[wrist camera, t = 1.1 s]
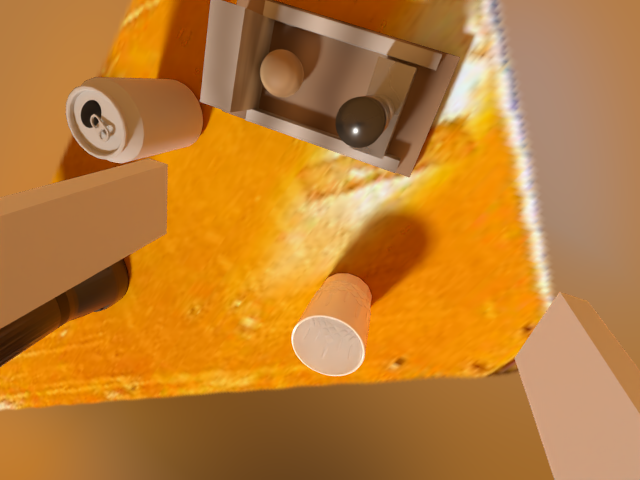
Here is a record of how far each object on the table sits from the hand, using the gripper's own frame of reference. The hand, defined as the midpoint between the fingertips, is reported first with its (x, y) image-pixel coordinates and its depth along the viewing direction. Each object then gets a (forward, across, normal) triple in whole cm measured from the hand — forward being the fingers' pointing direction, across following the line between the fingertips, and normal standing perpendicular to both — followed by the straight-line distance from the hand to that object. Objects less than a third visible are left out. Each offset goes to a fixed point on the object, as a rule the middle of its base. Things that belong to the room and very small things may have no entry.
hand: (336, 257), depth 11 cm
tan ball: (+25, -12, +4) cm, 28 cm away
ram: (+25, -2, +3) cm, 25 cm away
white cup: (+27, 0, -20) cm, 34 cm away
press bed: (+27, -8, +3) cm, 28 cm away
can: (+27, -25, -4) cm, 37 cm away
